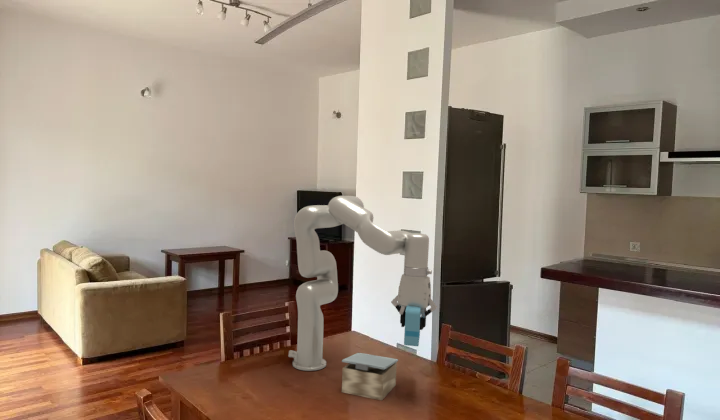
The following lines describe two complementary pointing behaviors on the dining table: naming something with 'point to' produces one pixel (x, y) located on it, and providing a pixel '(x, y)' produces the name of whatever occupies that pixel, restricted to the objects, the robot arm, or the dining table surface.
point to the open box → (368, 381)
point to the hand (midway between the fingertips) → (412, 326)
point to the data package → (412, 326)
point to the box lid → (369, 361)
